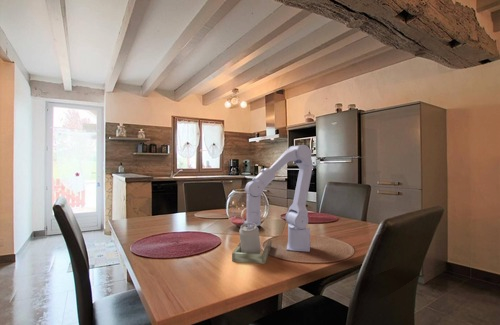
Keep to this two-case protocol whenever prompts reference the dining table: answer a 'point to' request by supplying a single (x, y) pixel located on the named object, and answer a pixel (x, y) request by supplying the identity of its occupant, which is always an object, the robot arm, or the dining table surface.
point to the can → (250, 239)
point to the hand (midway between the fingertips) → (253, 244)
